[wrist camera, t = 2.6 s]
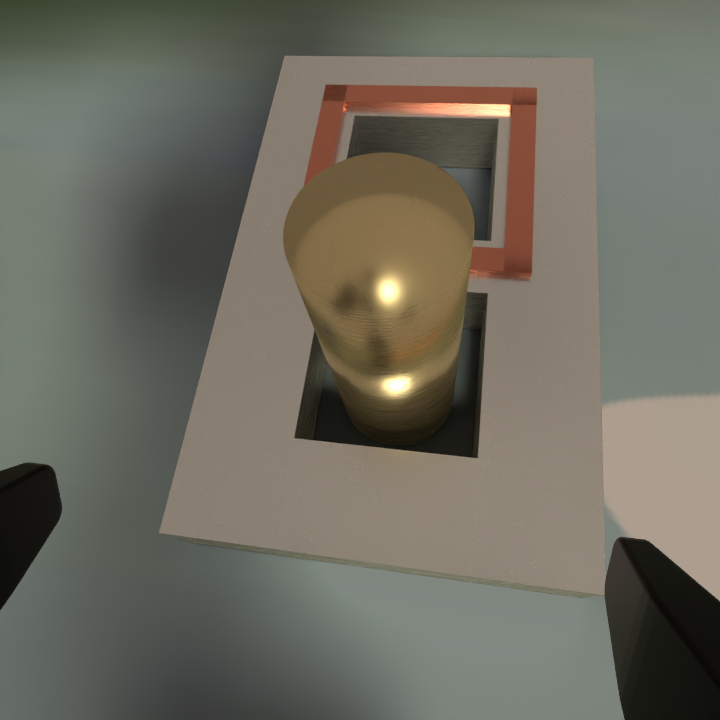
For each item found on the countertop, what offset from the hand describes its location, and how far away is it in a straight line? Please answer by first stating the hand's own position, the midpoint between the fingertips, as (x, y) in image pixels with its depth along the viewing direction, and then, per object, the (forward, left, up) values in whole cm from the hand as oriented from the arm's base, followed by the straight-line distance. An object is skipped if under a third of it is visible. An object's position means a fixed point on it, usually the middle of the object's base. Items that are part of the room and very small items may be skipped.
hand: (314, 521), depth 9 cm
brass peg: (+4, -6, -13) cm, 14 cm away
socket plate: (+6, -9, -13) cm, 17 cm away
